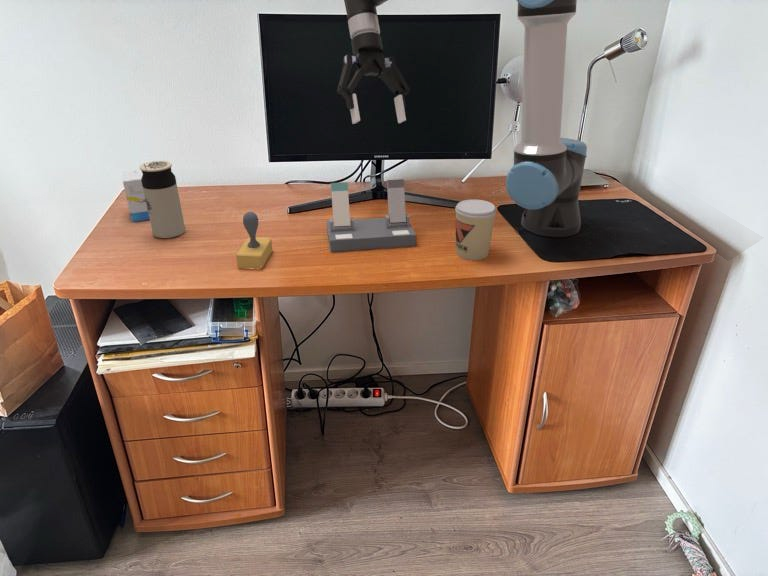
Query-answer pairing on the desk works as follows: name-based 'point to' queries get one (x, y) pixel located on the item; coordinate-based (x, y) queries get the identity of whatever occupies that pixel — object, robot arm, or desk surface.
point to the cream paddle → (340, 204)
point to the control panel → (370, 234)
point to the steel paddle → (396, 201)
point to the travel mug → (162, 199)
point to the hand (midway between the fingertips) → (379, 122)
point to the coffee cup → (474, 228)
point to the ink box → (135, 195)
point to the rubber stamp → (253, 245)
